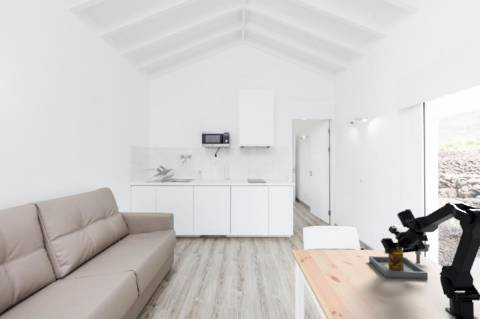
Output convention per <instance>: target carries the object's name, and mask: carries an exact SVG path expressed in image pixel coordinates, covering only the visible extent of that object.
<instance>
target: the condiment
mask: <svg viewBox="0 0 480 319" xmlns="http://www.w3.org/2000/svg"><path fill="white" fill-rule="evenodd" d="M402 250H403V248H397V251H396V252H395V253H389V254H388V257H389V259H388V260H389V265H384V266H385V267H386V268H387V269H388V270H389V271H405V270H404V268H403V257H404V253H403V252H402Z"/></svg>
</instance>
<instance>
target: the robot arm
mask: <svg viewBox="0 0 480 319" xmlns="http://www.w3.org/2000/svg"><path fill="white" fill-rule="evenodd" d="M396 216H397V217H398V219H399V221H400V224H392V225H390V226H389V227H388V231H389V232H390V234H392V235H393V234H394V235H395V240H397V242H394V241H393V239H392V238H391V237H384V238H382V239H381V240H380V243H381V245H382V246H383V248H384V254H385V255H387V254H389V253H395V252H396V251H397V248H402V252H403V254H404V253H407V254H408V253H415V252H416V251H423V250H425V243H424V242H429V238H428V235H427V234H426V233H434V232H435V231H436V230H438V229H439V225H441V224H443V223H444V222H445V223H446V221H449V220H451V219H455V220H457V221H459V226H460V228H461V230H462V233H461V235H460V239H459V241H458V245H457V247H456V250H455V254H454V256H453V260H452V263H451V265H450V264H449V265H448V264H447V265H442V267H441V271H440V273H439V275H440V277H439V280H440V285H441V288H442V293H443V295H445V296H446V298H447V299H448V301H449V307H445V310H446V311H447V312H448V313H449V314H450V315H452V316H453V317H454V318H455V319H479V318H478V317H477V316H475V314H474V313H475V312H474V310H475V308H474V306H475V305H474V303H475V302H473V301H478V302H479V301H480V292H479V290H478V289H477V287H476V286H475V285H474V278H473V276H472V273H471V271H472V268H473V265H474V263H475V260H476V258H477V255H478V252H479V249H480V207H478V206H473V205H471V204H470V205H469V204H466V203H464V202H460V201H453V202H452V201H451V202H450V201H449V202H446V203H445V204H444V205H443V206H441V207H439V208H438V209H436V210H434V211H433V212H431V213H429V214H428V215H424V216H423V215H422V216H419V217H415V216H414V214H413V212H412V210H411V209H407V208H406V209H405V210H402V211H400V212H398V213H397V215H396ZM406 228H407V229H406Z"/></svg>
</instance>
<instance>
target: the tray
mask: <svg viewBox="0 0 480 319" xmlns="http://www.w3.org/2000/svg"><path fill="white" fill-rule="evenodd" d="M388 259H389V256H375V255H374V256H368V262H369V264H370V265H371V266H372V267H374V269H376V270H377V271H378V272H379V273H380V274H381V275H382V276H383V277H384V278H385V279H398V280H399V279H400V280H401V279H404V280H428V278H429V277H428V276H429V275H428V272H427V271H426V270H424V269H423V268H422V267H420V266H418V265H417V264H416V263H414V262H413V261H411V260H410V259H409V258H408V257H406V256H403V268H404V270H405V271H389V270H388V269H387V268H386V267H385V266H384V265H389V260H388Z"/></svg>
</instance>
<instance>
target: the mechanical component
mask: <svg viewBox="0 0 480 319" xmlns="http://www.w3.org/2000/svg"><path fill="white" fill-rule="evenodd" d="M424 245H425V250H423V251H416V252H414V253H415V255H416V256H415V258H416V263H417V264H421V255H422V253H421V252H423V253H427V252H429V250H430V244H429V243H424Z"/></svg>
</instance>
